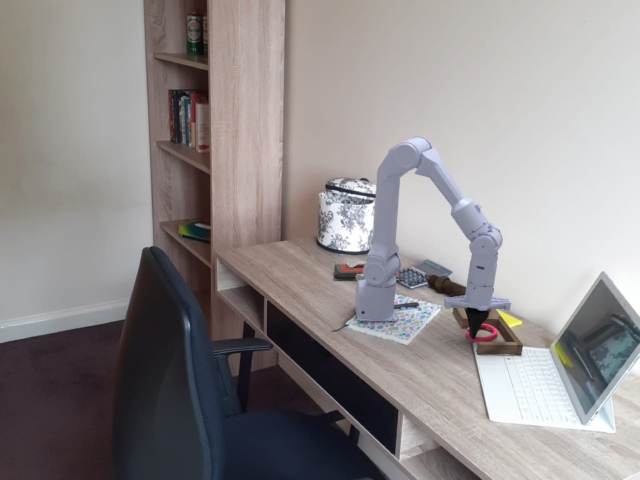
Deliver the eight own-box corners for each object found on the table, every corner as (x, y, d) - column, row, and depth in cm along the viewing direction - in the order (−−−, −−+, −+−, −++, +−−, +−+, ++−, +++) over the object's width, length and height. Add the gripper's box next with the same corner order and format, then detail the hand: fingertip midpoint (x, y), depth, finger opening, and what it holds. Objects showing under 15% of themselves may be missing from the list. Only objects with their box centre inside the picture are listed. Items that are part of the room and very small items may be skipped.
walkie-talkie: (335, 285, 162) (405, 283, 165) (335, 270, 161) (407, 269, 164) (329, 272, 170) (396, 271, 174) (330, 258, 169) (398, 257, 172)
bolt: (430, 291, 165) (475, 309, 154) (421, 286, 162) (465, 304, 151) (439, 272, 165) (484, 289, 154) (429, 266, 162) (474, 283, 151)
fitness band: (480, 325, 142) (481, 320, 142) (501, 335, 138) (502, 329, 138) (460, 336, 137) (461, 330, 136) (482, 346, 133) (483, 340, 133)
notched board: (477, 354, 129) (479, 344, 128) (452, 312, 148) (453, 303, 147) (521, 355, 130) (523, 345, 129) (490, 313, 149) (492, 304, 148)
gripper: (453, 288, 126) (445, 344, 131) (519, 290, 127) (509, 346, 132) (444, 275, 133) (437, 329, 137) (507, 277, 134) (498, 330, 138)
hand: (472, 336), depth 135 cm, fingers closed, pressing on fitness band
